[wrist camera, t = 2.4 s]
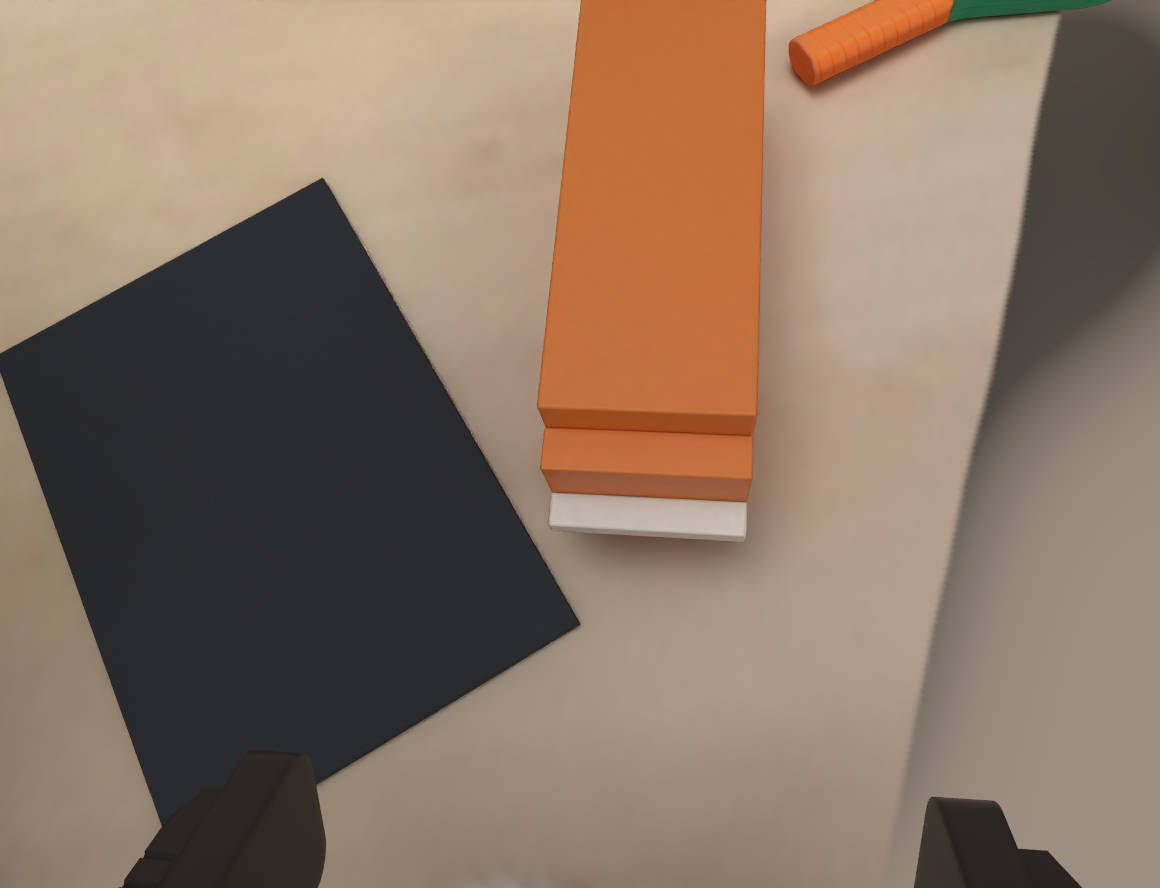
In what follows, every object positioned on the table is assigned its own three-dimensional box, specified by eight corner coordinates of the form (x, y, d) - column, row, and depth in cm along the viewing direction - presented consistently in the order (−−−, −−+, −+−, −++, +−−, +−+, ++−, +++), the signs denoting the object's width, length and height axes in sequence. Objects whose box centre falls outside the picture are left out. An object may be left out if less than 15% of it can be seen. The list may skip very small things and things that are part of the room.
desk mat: (1, 360, 34) (-6, 356, 33) (326, 183, 35) (322, 177, 35) (182, 865, 27) (175, 867, 27) (580, 624, 28) (579, 622, 28)
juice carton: (738, 567, 28) (755, 502, 21) (566, 556, 29) (527, 490, 22) (750, 118, 34) (767, -51, 27) (606, 119, 34) (585, -45, 27)
